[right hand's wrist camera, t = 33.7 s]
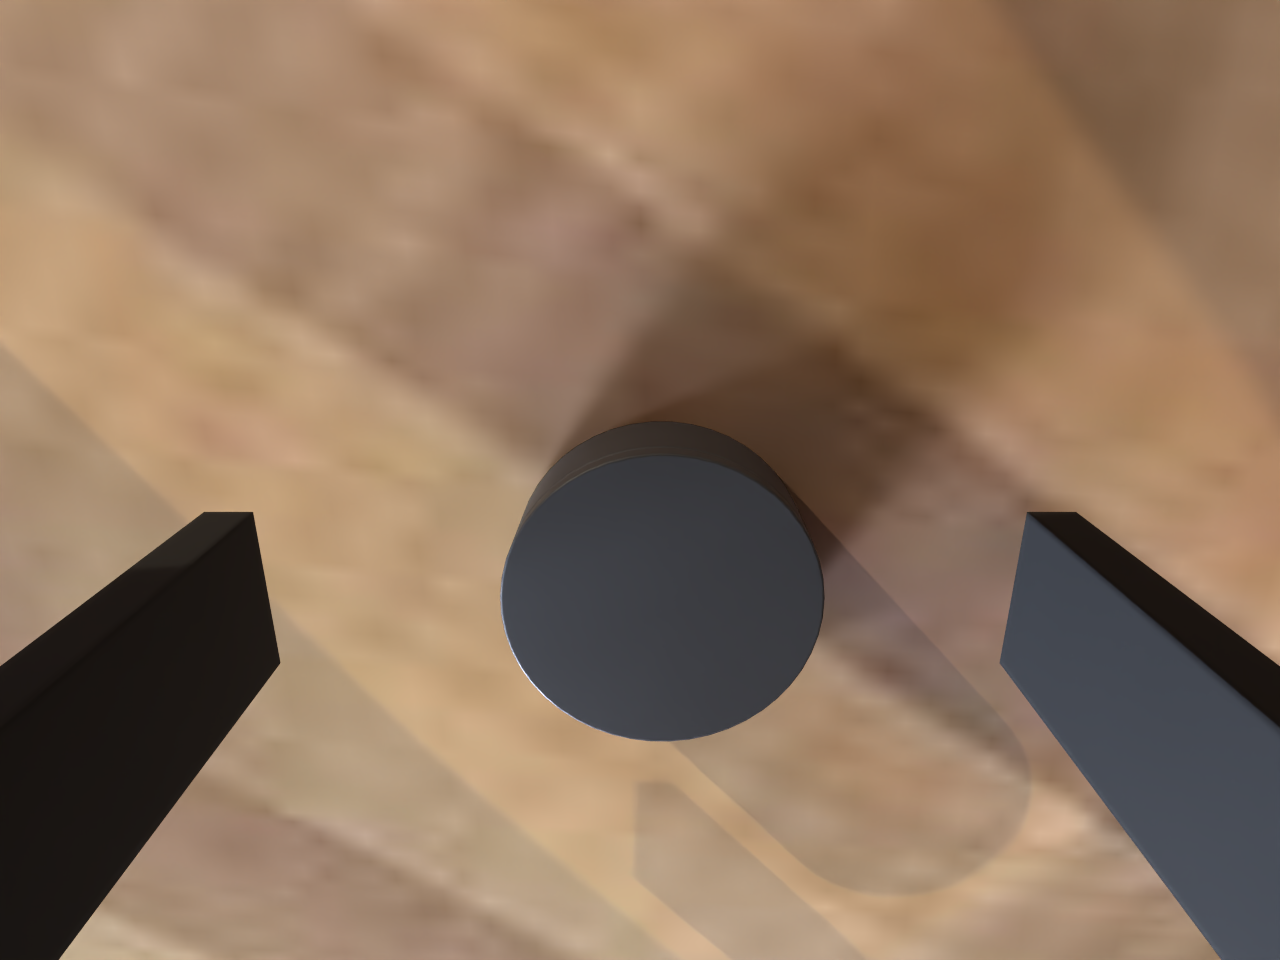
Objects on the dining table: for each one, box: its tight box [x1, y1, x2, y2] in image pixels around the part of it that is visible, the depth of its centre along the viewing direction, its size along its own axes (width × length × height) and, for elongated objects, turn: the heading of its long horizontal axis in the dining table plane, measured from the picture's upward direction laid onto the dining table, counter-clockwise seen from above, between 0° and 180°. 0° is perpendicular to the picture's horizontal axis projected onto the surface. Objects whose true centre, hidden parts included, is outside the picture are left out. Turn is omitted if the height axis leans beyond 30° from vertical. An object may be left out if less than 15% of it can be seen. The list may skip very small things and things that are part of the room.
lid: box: [500, 422, 824, 741], centre depth 14 cm, size 5×5×2 cm
